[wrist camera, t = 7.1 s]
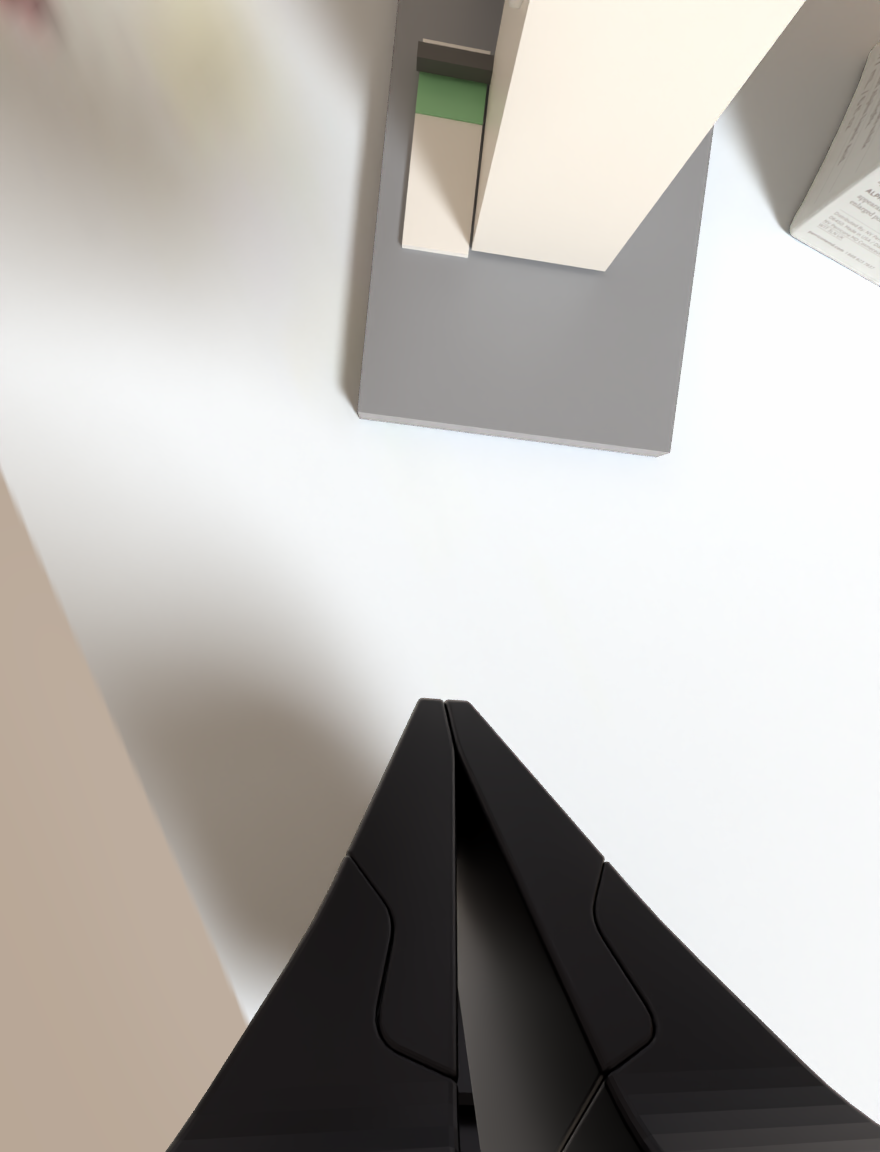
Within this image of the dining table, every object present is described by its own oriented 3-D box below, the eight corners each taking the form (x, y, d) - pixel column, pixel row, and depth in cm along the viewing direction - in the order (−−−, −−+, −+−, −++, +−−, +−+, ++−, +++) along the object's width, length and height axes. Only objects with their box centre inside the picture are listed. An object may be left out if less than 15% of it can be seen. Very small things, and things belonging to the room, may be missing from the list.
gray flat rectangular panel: (657, 457, 20) (673, 451, 19) (359, 418, 19) (356, 409, 18) (729, -95, 19) (752, -140, 18) (417, -165, 18) (419, -219, 17)
